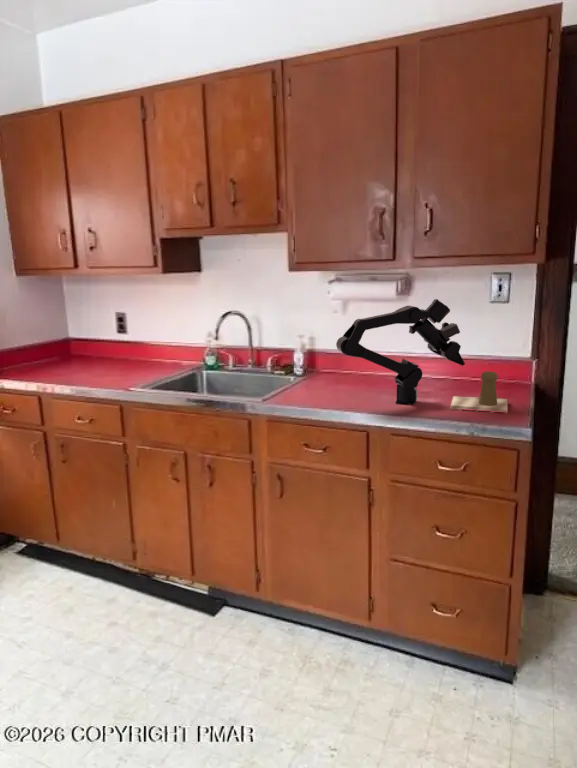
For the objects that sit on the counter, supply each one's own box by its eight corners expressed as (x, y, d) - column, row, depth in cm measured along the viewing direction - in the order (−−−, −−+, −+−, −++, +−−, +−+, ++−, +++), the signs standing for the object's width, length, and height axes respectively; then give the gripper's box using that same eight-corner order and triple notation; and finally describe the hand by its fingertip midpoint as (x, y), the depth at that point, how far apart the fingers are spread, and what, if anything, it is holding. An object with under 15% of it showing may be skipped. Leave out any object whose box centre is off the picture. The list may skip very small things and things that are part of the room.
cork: (500, 405, 190) (502, 373, 188) (483, 406, 190) (484, 374, 187) (492, 400, 196) (494, 369, 194) (475, 401, 196) (477, 370, 193)
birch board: (450, 409, 192) (450, 405, 192) (453, 400, 204) (453, 396, 204) (507, 413, 186) (507, 408, 186) (506, 403, 198) (507, 399, 198)
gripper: (455, 319, 189) (486, 350, 193) (436, 313, 207) (464, 341, 211) (432, 343, 190) (462, 373, 194) (415, 335, 209) (443, 363, 212)
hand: (458, 362), depth 202 cm, fingers open, 9 cm apart
